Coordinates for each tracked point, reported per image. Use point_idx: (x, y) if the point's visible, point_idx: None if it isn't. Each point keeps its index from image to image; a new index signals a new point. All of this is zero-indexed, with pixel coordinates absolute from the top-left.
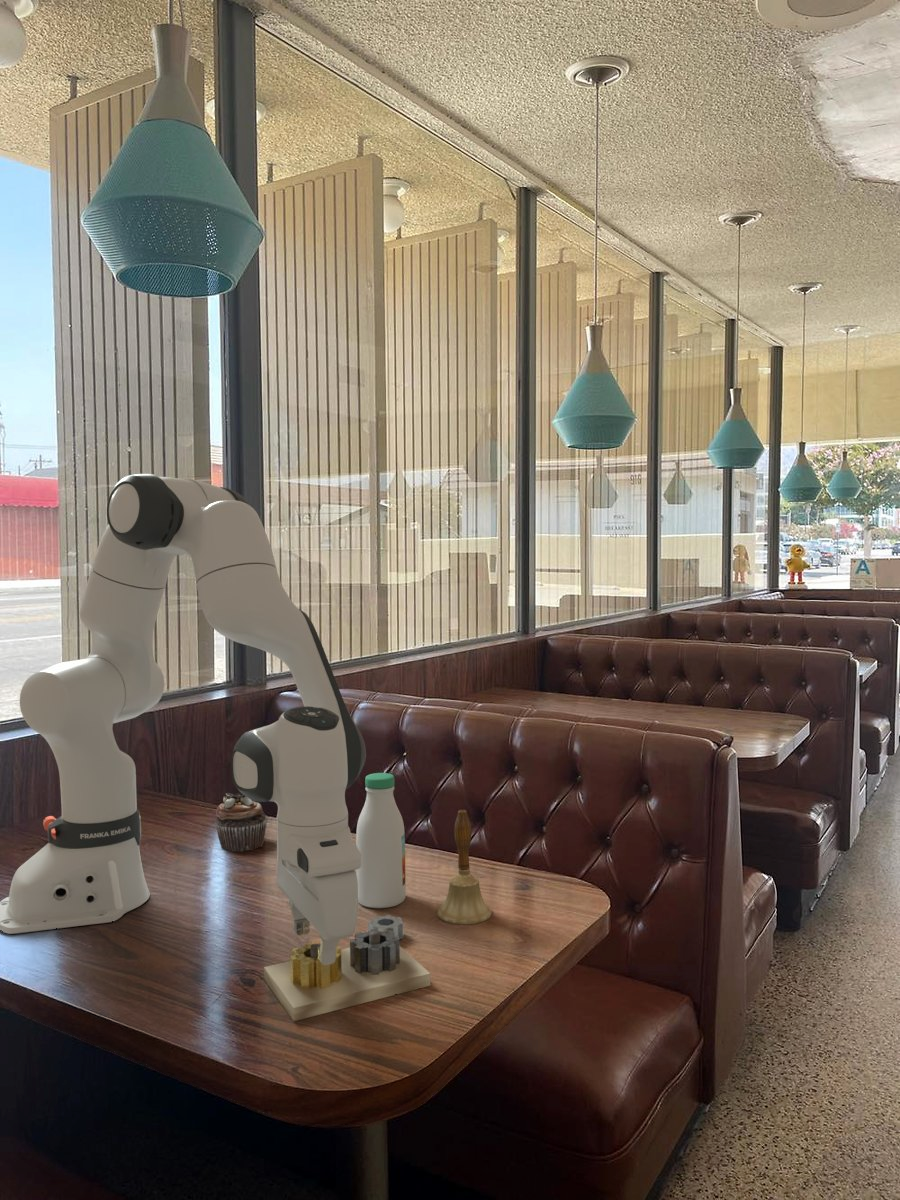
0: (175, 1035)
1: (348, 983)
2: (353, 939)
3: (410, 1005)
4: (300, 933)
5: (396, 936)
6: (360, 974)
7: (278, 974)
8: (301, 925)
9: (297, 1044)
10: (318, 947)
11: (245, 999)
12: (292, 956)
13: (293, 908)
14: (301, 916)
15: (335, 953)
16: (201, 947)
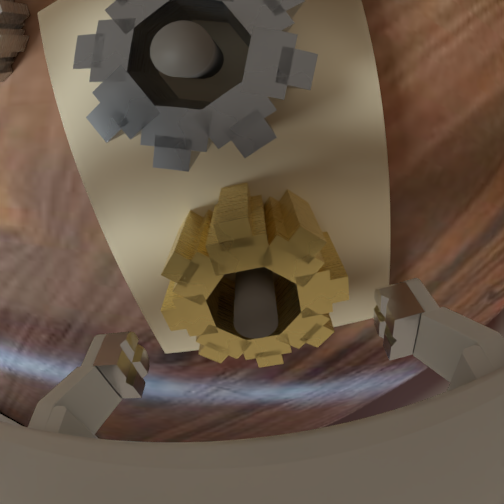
0: (325, 418)
1: (328, 173)
2: (162, 152)
3: (418, 26)
4: (145, 356)
5: (17, 6)
6: (277, 123)
7: None
8: (135, 375)
9: (447, 291)
10: (393, 357)
11: (250, 362)
12: (261, 363)
13: (93, 426)
14: (102, 388)
15: (429, 294)
16: (55, 385)
